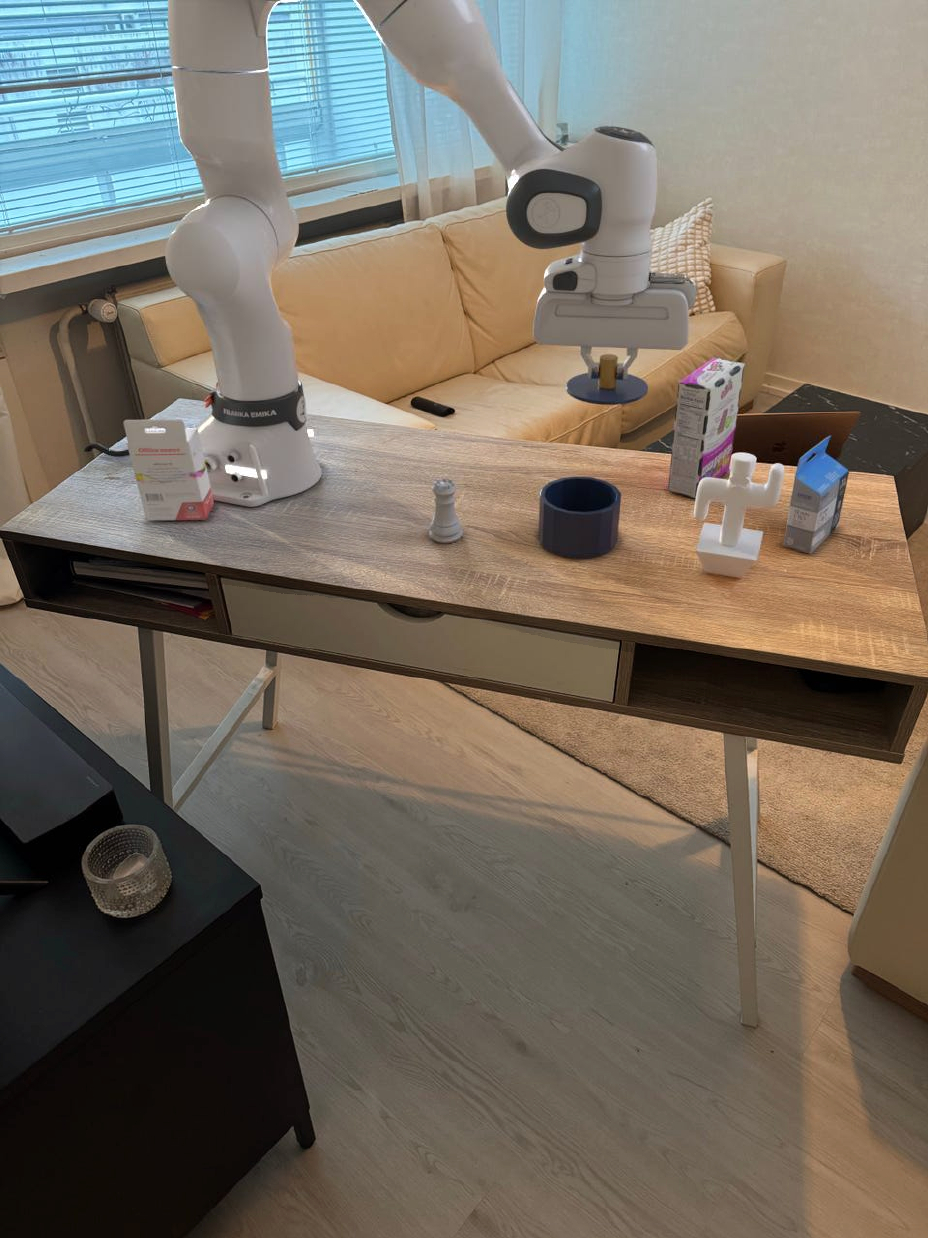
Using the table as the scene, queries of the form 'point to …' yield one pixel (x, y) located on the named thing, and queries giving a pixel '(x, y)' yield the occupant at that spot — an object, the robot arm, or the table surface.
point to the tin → (579, 517)
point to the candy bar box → (704, 424)
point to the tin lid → (607, 385)
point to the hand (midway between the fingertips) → (607, 377)
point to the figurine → (734, 516)
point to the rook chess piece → (445, 513)
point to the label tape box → (815, 499)
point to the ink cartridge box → (169, 469)
